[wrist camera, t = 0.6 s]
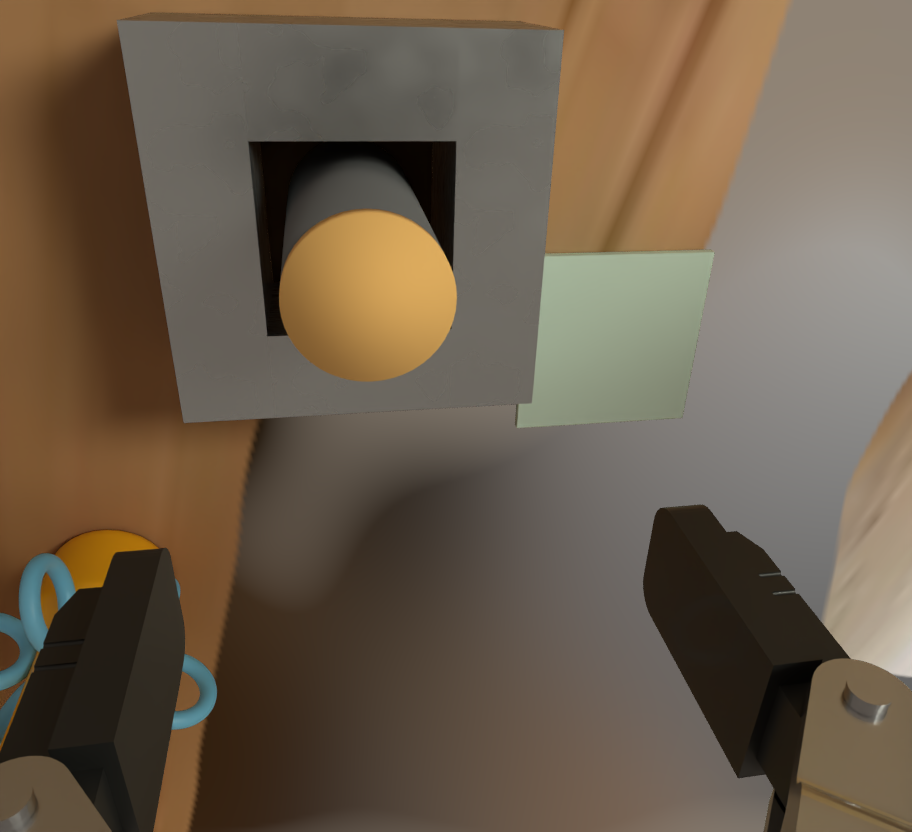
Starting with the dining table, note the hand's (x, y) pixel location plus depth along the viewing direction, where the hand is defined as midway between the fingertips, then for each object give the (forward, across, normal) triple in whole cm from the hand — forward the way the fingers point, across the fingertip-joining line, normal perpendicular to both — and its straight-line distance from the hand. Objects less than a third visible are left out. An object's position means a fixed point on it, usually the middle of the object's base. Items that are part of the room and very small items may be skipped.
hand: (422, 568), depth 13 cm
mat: (+24, -12, +7) cm, 28 cm away
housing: (+24, 0, 0) cm, 24 cm away
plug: (+24, 0, 0) cm, 24 cm away
